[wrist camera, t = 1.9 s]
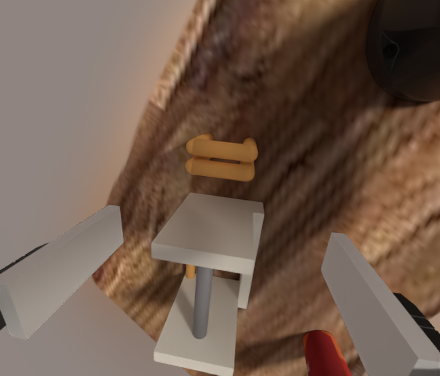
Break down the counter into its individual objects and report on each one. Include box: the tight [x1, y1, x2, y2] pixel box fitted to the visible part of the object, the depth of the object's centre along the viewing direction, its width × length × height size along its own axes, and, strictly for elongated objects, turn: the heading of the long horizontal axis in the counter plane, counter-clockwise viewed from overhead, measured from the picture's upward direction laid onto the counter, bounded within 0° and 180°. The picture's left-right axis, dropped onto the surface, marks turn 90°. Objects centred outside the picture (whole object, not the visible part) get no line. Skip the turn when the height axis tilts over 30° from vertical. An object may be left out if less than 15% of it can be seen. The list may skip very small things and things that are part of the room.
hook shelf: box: [151, 192, 264, 376], centre depth 29 cm, size 18×12×14 cm, turn 174°
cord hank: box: [185, 133, 258, 181], centre depth 26 cm, size 8×4×9 cm, turn 84°
